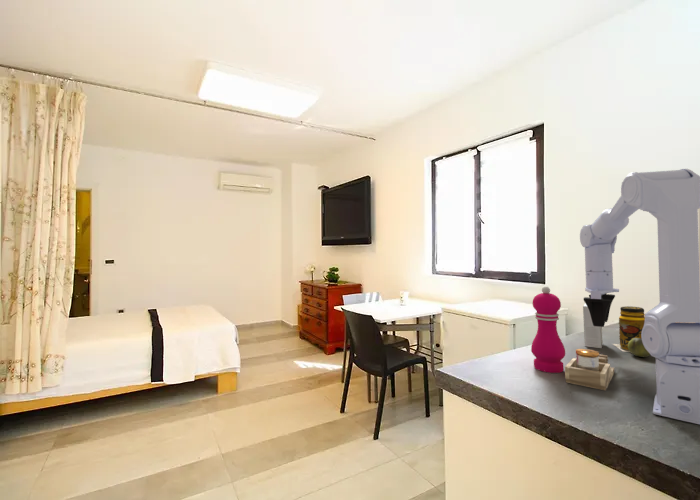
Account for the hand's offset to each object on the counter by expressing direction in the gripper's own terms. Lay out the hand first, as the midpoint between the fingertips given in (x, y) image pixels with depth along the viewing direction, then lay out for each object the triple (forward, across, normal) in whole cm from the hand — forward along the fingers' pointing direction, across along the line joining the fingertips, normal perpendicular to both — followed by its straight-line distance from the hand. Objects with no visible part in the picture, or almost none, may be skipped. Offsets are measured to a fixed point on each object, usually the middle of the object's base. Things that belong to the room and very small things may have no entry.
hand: (600, 323), depth 89 cm
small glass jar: (+8, -19, 0) cm, 21 cm away
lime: (+10, +9, -7) cm, 15 cm away
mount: (+9, -16, 0) cm, 18 cm away
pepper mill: (+10, -15, +9) cm, 20 cm away
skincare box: (+10, +16, +4) cm, 19 cm away
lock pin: (+8, -9, 0) cm, 12 cm away
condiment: (+10, +17, -6) cm, 21 cm away
